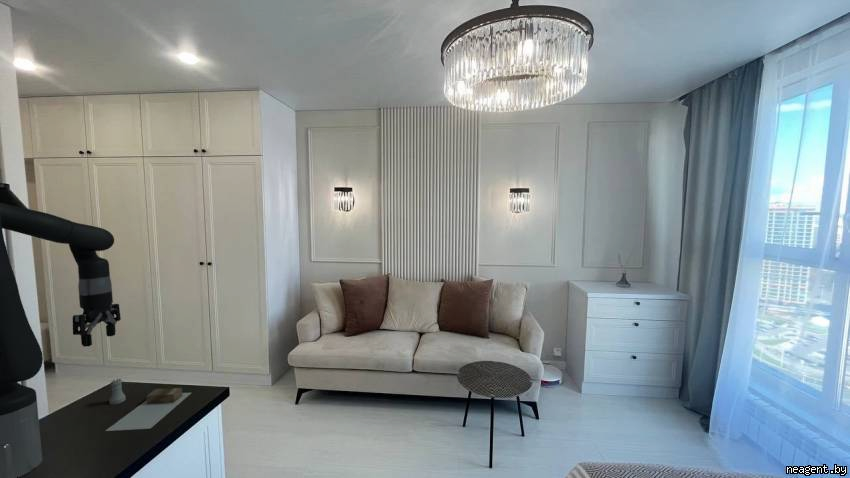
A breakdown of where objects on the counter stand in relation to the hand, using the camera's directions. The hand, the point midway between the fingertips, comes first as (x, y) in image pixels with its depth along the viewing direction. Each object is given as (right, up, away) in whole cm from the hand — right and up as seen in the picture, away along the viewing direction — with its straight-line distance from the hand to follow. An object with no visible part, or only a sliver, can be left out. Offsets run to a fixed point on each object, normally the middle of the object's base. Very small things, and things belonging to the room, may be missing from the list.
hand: (99, 340), depth 107 cm
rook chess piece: (-5, -26, +11) cm, 28 cm away
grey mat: (+12, -26, +6) cm, 29 cm away
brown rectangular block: (+12, -25, +12) cm, 30 cm away
